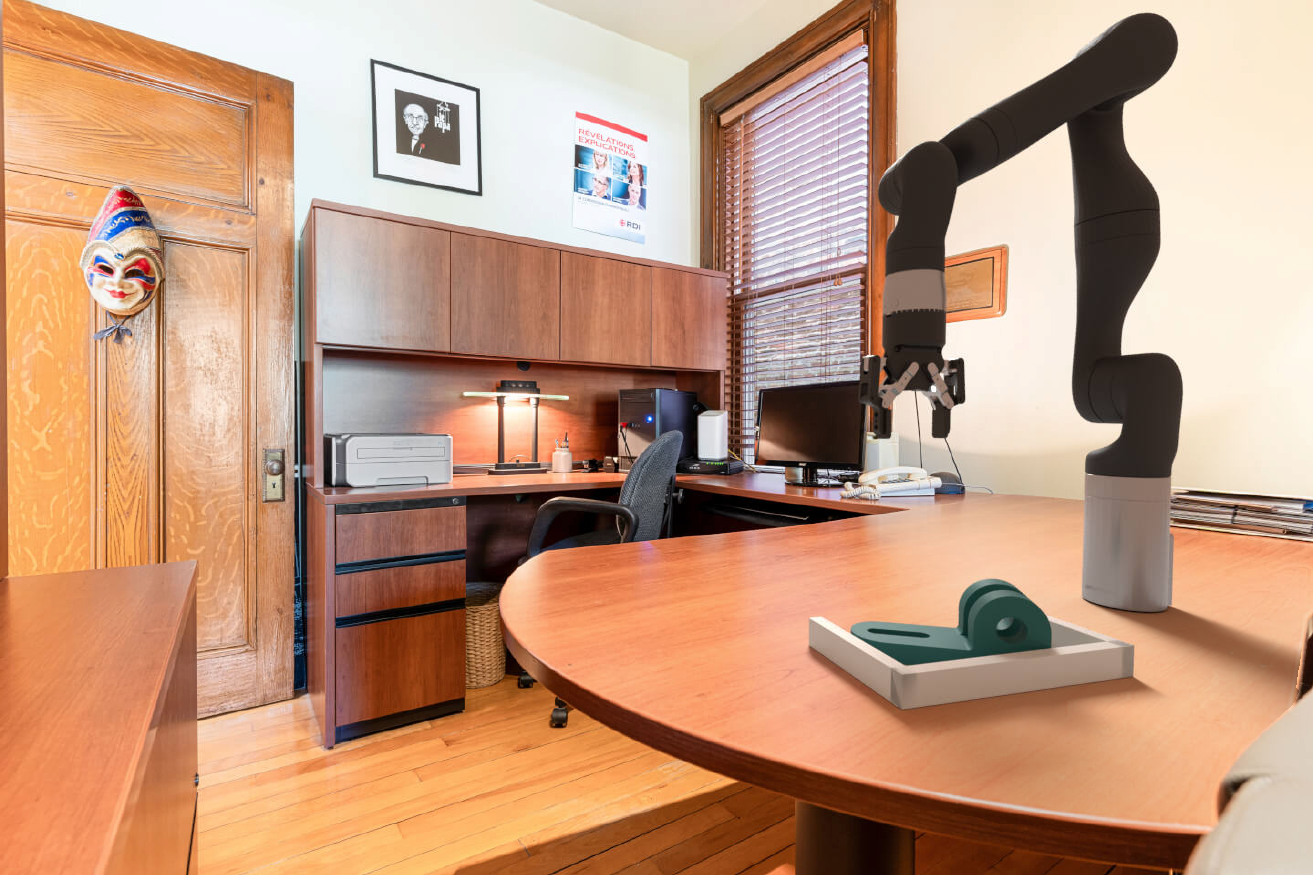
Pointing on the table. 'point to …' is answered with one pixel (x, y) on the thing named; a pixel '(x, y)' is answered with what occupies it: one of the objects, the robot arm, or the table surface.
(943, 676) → the white open frame
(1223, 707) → the table surface
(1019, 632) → the bracket
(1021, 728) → the table surface
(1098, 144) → the robot arm
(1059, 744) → the table surface
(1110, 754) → the table surface
